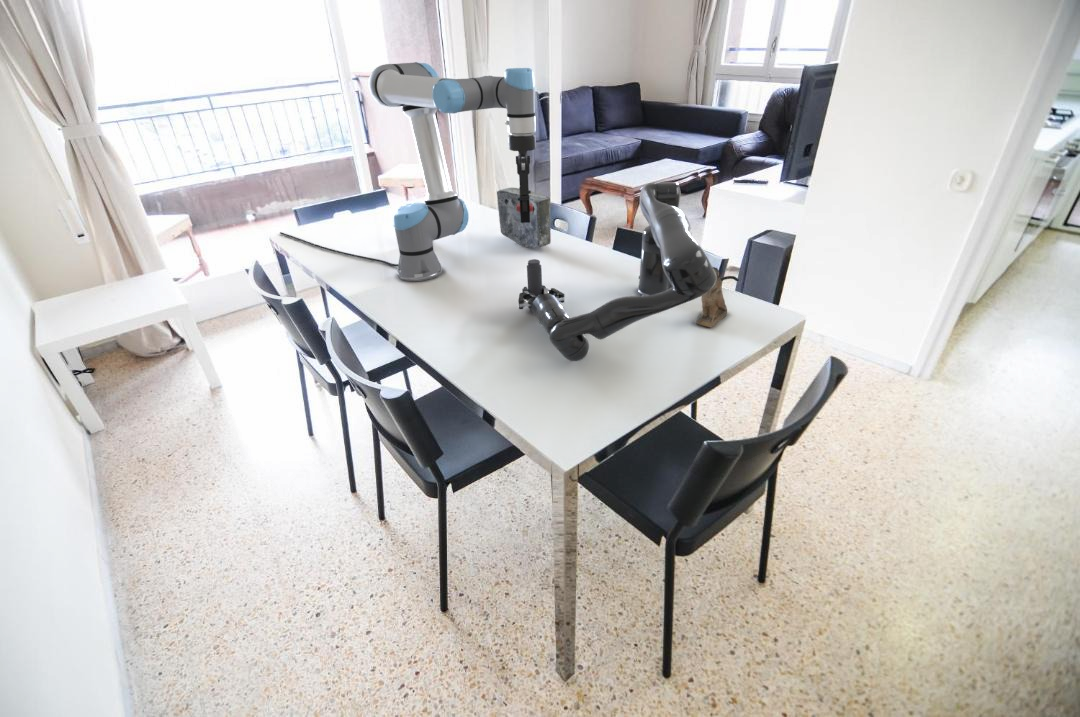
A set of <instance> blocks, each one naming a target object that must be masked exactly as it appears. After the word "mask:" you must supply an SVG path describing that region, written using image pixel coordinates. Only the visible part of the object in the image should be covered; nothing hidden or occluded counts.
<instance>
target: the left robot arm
mask: <svg viewBox="0 0 1080 717" xmlns="http://www.w3.org/2000/svg"><path fill="white" fill-rule="evenodd" d="M368 89H369V90H368V91H369V92H370V95H371V97H372V98H373V99H374V100H375V101H376V103H378V104H380V105H381V106H384V107H389V108H396V107H397V108H398V107H399V108H400V107H401V110H402V113H403V115H405V116H406V117H407V118H408V119H409V123H410V127H411V131H412V135H413V139H414V143H415V149H416V153H417V156H418V161H419V165H420V168H421V173H422V178H423V181H424V187H425V190H426V196H425V197H424V202H413V203H407V204H405V205H402V206H399V207H398V208H397V209H395V210H394V212H393V215H392V219H393V228H394V230H395V231H394V232H395V236H396V242H397V247H398V251H399V259H398V263H391V262H388V261H386V260H382V259H378V258H373V257H367V256H363V255H358V254H353V253H349V252H344V251H340V250H337V249H333V248H330V247H325V246H322V245H319V244H316V243H313V242H311V241H307V240H305V239H302V238H300V237H297V236H293V235H290V234H288V233H285V232H281V231H280V232H279V234H280V235H283V236H286V237H289V238H292V239H294V240H297V241H300V242H303V243H305V244H308V245H311V246H314V247H317V248H320V249H324V250H325V251H326V250H327V251H330V252H333V253H337V254H342V255H345V256H350V257H354V258H360V259H364V260H368V261H369V260H370V261H374V262H379V263H383V264H386V265H388V266H391V267H397V276H398V278H399V279H400V280H402V281H406V282H413V283H414V282H425V281H429V280H432V279H435V278H438V277H439V276H440V275H441V274H442V273H443V268H442V264H441V263H440V260H439V259H438V256H437V254H436V252H435V250H434V243H433V241H437V240H439V239H443V238H446V237H449V236H455V235H457V234H458V233H461V232H463V231H465V229H466V228H467V226H468V223H469V210H468V209H469V208H468V206H467V205H466V204H465V201H464V200H463V199H461V198H459V196H458V193H457V192H456V191H454V190H453V189H452V184H451V180H450V174H449V171H448V166H447V162H446V157H445V152H444V148H443V143H442V139H441V138H442V137H441V133H440V130H439V129H440V128H439V125H438V124H439V123H438V120H437V116H436V115H437V114H436V113H437V111H439V113H442V114H457V113H463V112H470V111H479V110H488V109H506V118H507V119H506V120H505V122H504V124H505V125H507V132H508V134H509V135H508V136H507V140H508V141H507V144H508V149H509V150H510V151H512V152H517V153H518V154H517V155H515V164H516V173H517V175H518V182H519V189H520V198H518V200H520V216H521V223H530V206H529V194H531V191H532V190H529V174H530V173H531V172H530V171H531V170H530V164H531V155H528V154H527V152H528V151H534V150H536V149H537V138H536V137H537V136H536V134H535V133H536V132H537V131H536V130H537V124H536V122H537V121H536V97H535V96H536V94H535V93H536V92H535V90H536V85H535V75H534V71H533V68H530V67H511V68H506V69H505V70H504V76H493V75H483V76H479V77H470V78H469V77H468V78H449V77H448V78H447V77H446V78H445V77H440V75H439V74H438V72H437V71H436V70H435V68H433V66H432V65H430V64H429V63H426V62H418V61H414V62H403V63H402V62H401V63H385V64H381V65H378V66H376V67H375V68H374V69H373V70H372V72H371V73H370V74H369V77H368Z"/></svg>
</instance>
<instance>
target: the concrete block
mask: <svg viewBox="0 0 1080 717" xmlns="http://www.w3.org/2000/svg"><path fill="white" fill-rule="evenodd" d="M530 191H531V194H529V203H532V204H533V211H531V212H530V223H521V216H520V212H518V211H517V204H519V203H520V200H518V198H520V189H519V188H518V187H507V188H502V189H499V190H497V191H496V197H497V208H498V220H499V221H498V222H499V228H500V233H501V235H503V236H504V237H506V238H508V239H510V240H511V241H513V242H515V243H517V244H519V245H521V246H522V247H526V248H528V249H541V248H543V247H546V246H549V245H550V244H551V242H552V241H551V240H552V238H551V235H552V234H551V198H550V197H549V196H548V195H544V194H542V193H539V192H536V191H533V190H530Z"/></svg>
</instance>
